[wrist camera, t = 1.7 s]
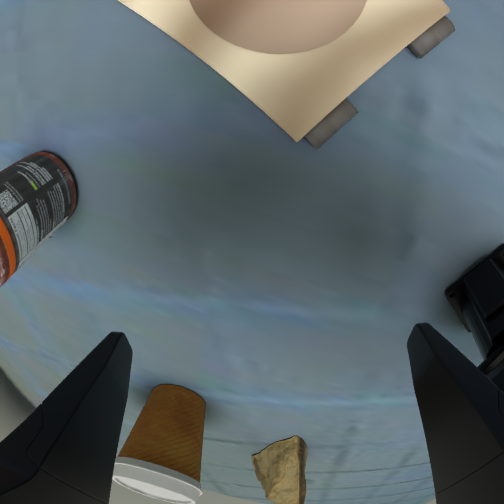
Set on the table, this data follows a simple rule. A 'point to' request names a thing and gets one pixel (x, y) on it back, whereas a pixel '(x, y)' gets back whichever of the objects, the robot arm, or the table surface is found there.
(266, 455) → the rock
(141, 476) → the disposable coffee cup
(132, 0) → the board
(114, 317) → the table surface
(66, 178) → the supplement bottle
